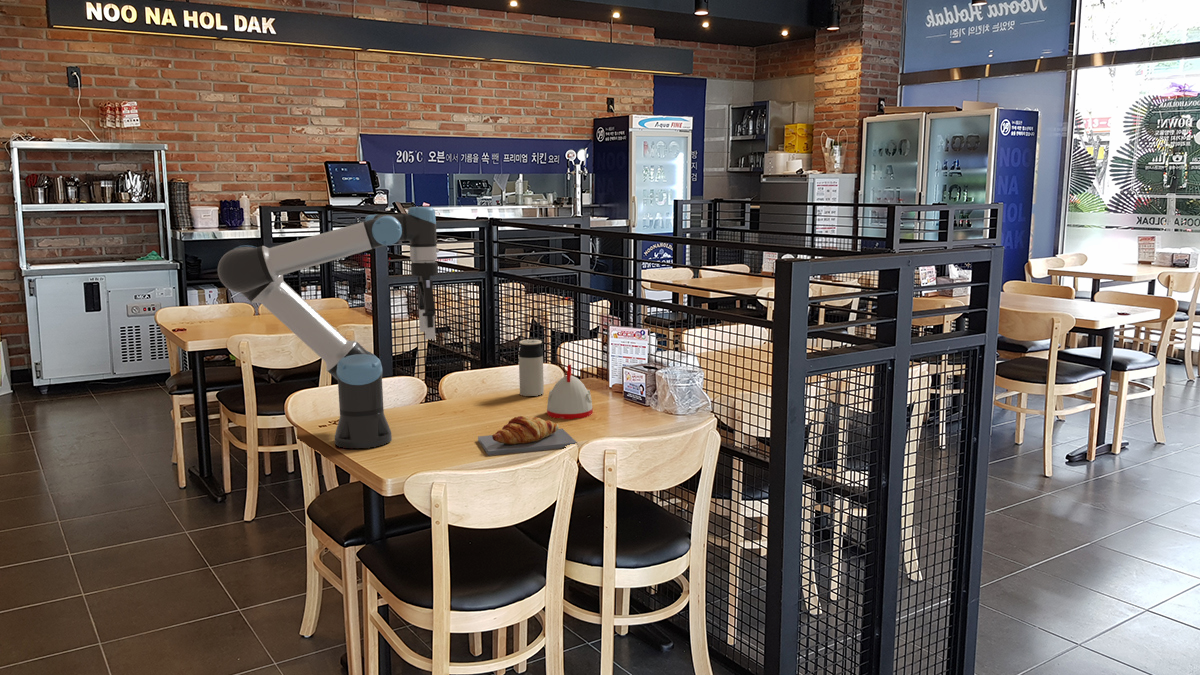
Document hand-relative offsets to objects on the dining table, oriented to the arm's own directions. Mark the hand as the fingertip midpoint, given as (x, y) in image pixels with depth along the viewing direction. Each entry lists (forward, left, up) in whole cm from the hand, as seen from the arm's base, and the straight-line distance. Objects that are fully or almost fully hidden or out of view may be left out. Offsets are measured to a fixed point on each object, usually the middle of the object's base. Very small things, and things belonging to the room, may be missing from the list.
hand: (427, 335), depth 263 cm
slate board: (+22, -29, -27) cm, 45 cm away
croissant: (+22, -29, -26) cm, 45 cm away
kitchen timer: (+42, -1, -27) cm, 50 cm away
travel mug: (+37, +28, -27) cm, 54 cm away
